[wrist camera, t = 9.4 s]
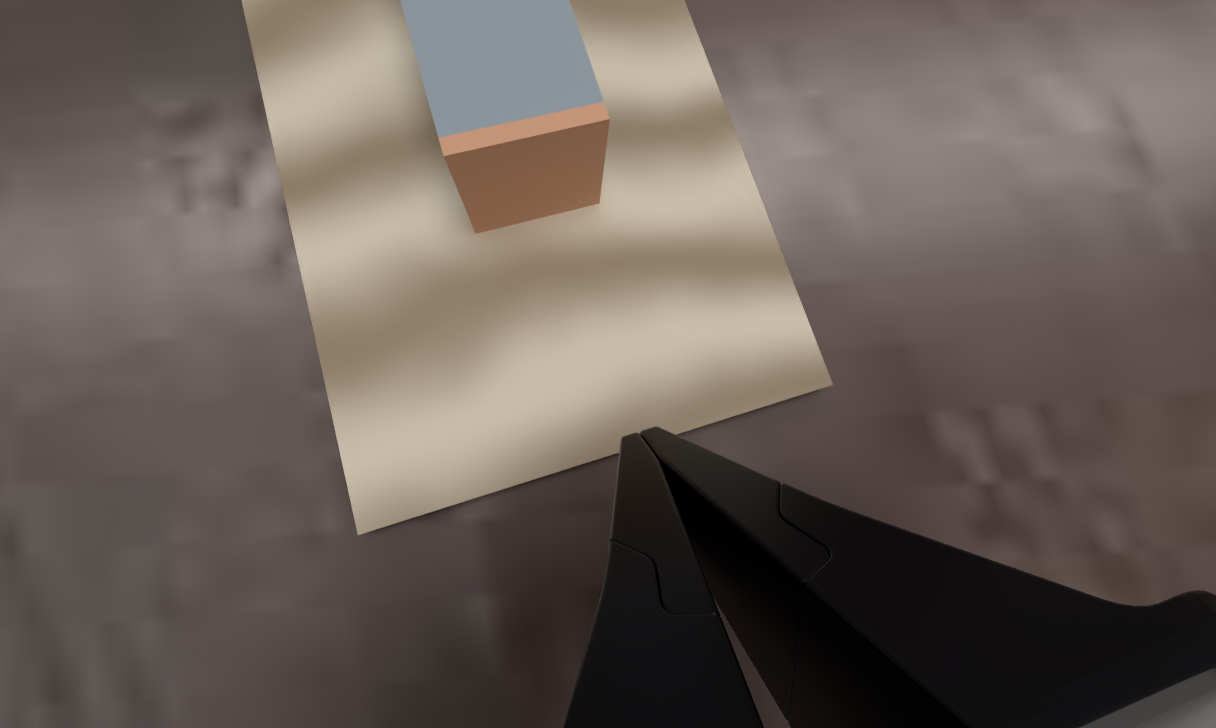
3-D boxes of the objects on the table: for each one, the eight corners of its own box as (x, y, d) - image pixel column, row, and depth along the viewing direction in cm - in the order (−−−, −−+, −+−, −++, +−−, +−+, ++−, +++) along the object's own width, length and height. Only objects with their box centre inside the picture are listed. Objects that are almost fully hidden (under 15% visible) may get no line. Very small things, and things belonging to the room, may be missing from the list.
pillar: (609, 119, 15) (489, -234, 17) (443, 156, 14) (340, -216, 16) (599, 203, 20) (506, -79, 22) (475, 234, 19) (392, -60, 21)
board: (820, 388, 20) (833, 384, 19) (369, 530, 18) (358, 535, 17) (626, -119, 24) (629, -144, 23) (239, -58, 22) (223, -82, 21)
